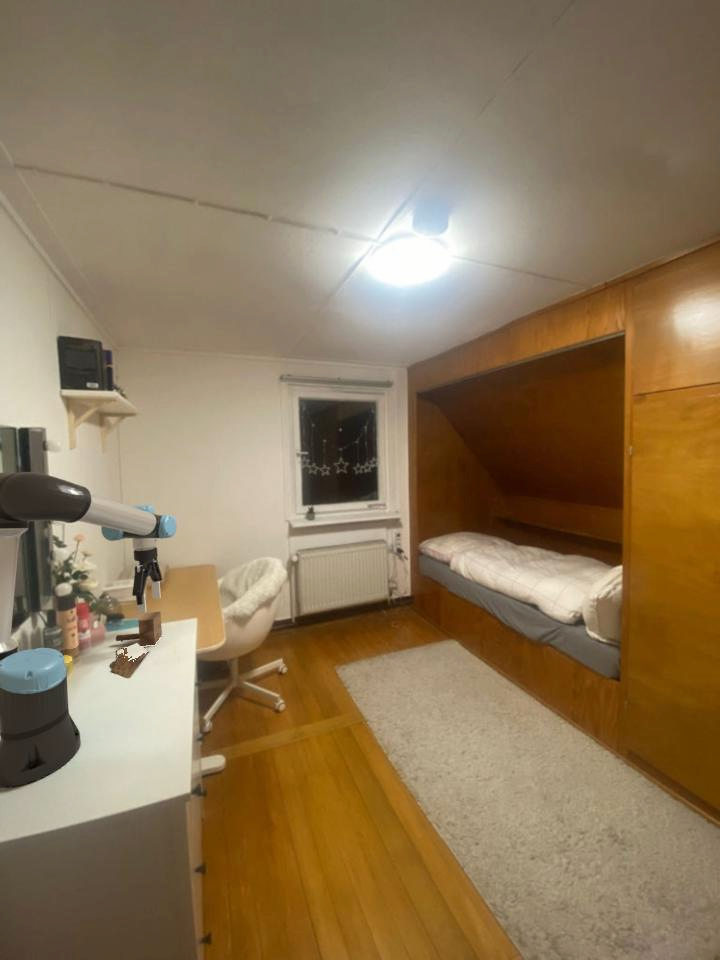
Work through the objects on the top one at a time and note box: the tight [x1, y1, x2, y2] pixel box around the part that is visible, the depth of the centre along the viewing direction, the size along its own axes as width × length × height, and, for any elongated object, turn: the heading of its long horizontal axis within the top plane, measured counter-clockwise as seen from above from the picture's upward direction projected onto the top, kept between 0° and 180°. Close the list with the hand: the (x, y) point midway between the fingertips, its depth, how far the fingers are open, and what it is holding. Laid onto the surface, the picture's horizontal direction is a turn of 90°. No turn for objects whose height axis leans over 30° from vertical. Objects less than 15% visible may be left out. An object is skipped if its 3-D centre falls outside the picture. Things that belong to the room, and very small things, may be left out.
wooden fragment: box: [109, 647, 149, 679], centre depth 129 cm, size 26×11×1 cm, turn 24°
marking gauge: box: [115, 611, 163, 646], centre depth 140 cm, size 14×7×10 cm, turn 98°
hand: (149, 605), depth 141 cm, fingers open, 13 cm apart
